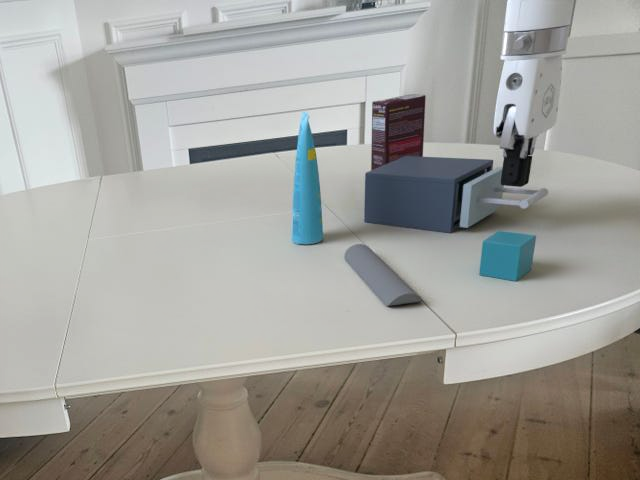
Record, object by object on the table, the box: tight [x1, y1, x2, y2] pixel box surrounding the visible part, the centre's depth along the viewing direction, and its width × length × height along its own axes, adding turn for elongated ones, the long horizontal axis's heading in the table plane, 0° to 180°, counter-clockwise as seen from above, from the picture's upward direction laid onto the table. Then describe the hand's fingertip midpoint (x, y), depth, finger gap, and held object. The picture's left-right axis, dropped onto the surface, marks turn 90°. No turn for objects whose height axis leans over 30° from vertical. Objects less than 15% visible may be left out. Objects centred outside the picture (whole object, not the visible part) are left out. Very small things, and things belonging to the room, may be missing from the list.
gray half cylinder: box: [344, 243, 423, 307], centre depth 82 cm, size 4×20×2 cm, turn 1°
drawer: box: [454, 166, 549, 229], centre depth 97 cm, size 21×11×6 cm, turn 42°
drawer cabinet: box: [363, 156, 494, 234], centre depth 101 cm, size 15×13×8 cm
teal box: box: [478, 230, 537, 282], centre depth 78 cm, size 4×4×4 cm
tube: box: [291, 109, 324, 245], centre depth 96 cm, size 7×5×19 cm, turn 179°
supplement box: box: [370, 93, 427, 171], centre depth 119 cm, size 9×5×16 cm, turn 108°
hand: (514, 184), depth 91 cm, fingers closed
